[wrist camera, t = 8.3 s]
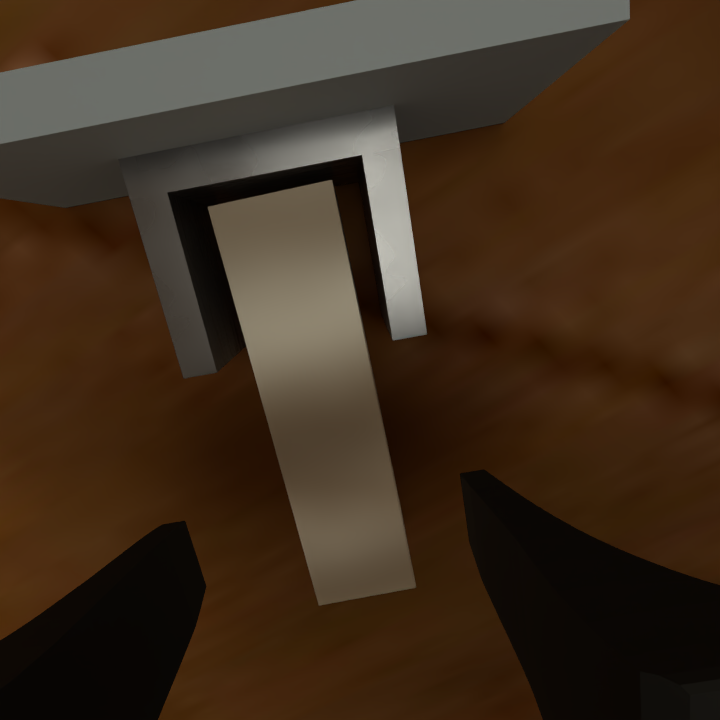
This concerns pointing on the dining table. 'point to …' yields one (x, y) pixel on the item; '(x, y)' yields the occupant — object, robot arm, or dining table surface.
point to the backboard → (286, 83)
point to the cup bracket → (258, 177)
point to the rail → (317, 386)
